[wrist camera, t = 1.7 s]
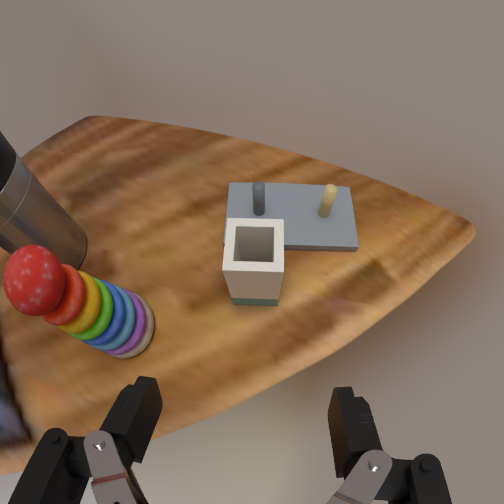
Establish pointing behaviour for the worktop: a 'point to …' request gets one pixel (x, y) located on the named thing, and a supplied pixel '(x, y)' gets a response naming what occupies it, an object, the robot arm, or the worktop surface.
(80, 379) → the worktop surface
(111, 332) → the stacking toy
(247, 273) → the sleeve
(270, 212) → the pin board
